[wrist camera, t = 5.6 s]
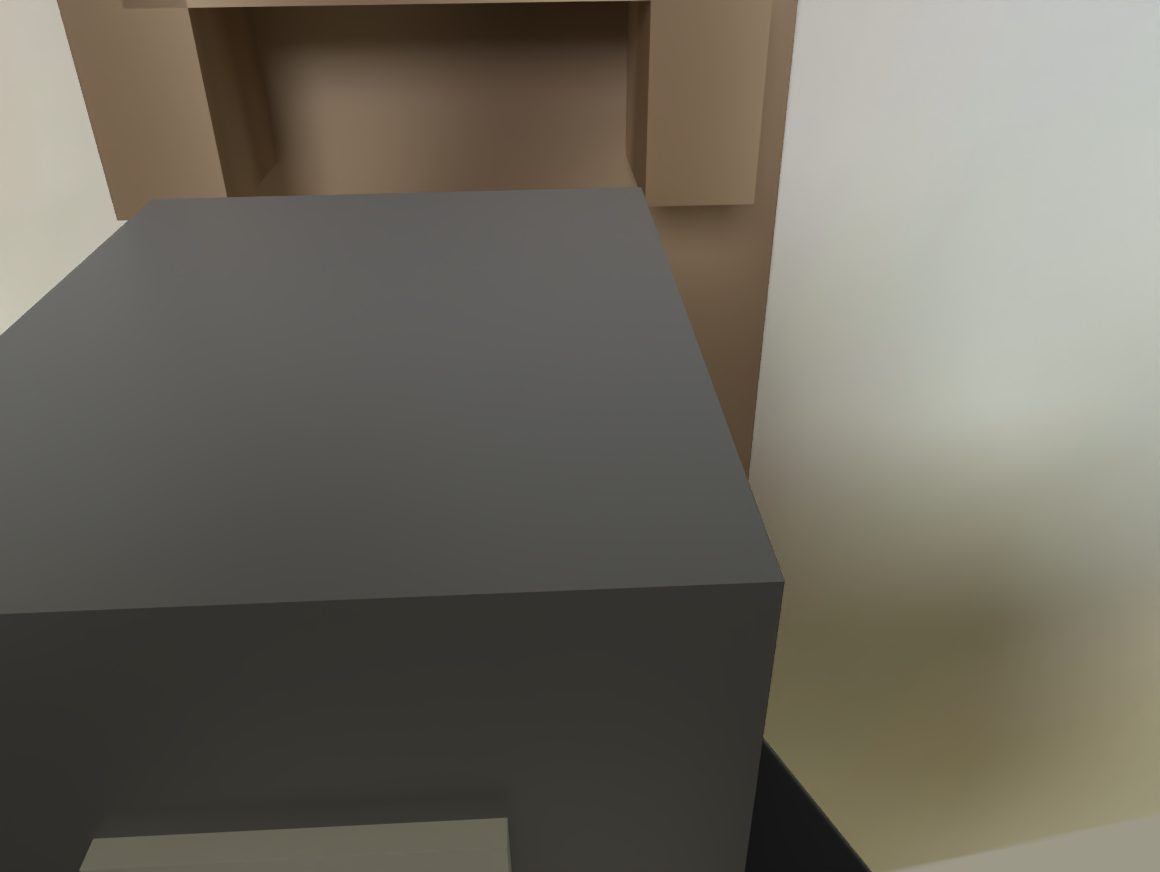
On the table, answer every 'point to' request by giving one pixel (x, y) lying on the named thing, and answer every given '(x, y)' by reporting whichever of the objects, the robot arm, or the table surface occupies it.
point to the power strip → (376, 548)
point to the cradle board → (468, 119)
